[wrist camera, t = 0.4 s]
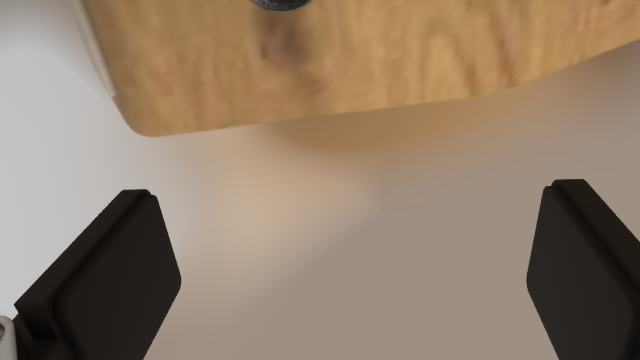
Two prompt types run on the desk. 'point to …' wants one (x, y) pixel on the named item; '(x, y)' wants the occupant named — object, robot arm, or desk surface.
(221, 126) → the desk surface
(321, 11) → the desk surface
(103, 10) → the desk surface
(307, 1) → the valve
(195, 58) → the desk surface
